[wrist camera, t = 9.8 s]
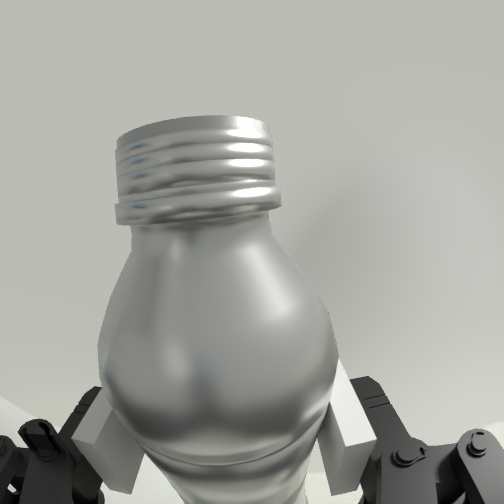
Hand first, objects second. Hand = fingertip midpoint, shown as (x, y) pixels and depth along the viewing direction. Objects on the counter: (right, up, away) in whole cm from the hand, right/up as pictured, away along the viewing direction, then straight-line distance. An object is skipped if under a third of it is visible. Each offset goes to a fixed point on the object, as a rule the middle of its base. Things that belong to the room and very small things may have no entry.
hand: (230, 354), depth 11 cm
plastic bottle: (+1, -13, -1) cm, 13 cm away
